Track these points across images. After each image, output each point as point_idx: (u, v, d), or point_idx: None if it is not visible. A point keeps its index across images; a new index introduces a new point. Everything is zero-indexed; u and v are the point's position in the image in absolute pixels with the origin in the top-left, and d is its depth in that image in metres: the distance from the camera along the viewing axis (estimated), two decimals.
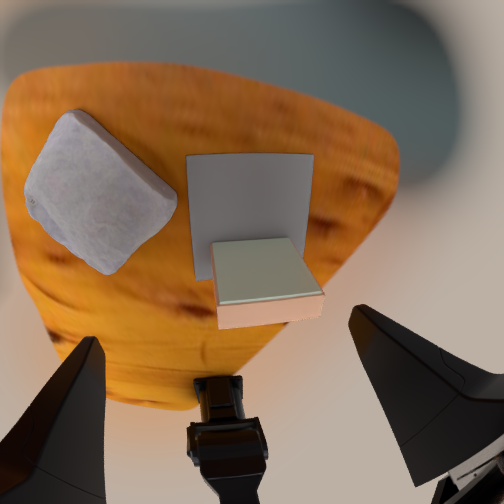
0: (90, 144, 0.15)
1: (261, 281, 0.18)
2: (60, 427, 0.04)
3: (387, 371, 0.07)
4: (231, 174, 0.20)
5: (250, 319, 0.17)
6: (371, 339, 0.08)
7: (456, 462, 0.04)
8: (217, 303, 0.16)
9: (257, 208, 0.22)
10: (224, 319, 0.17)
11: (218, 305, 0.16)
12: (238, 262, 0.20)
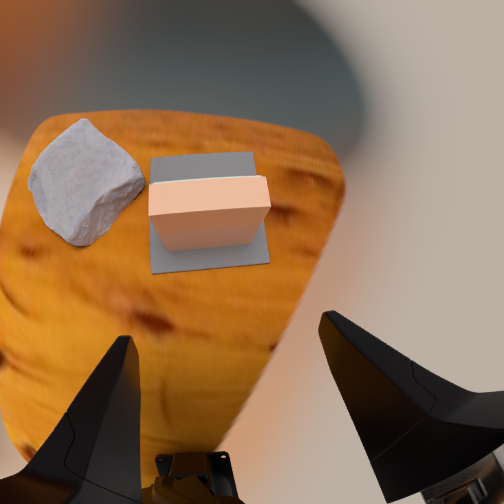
0: (90, 132, 0.21)
1: None
2: (102, 433, 0.05)
3: (355, 383, 0.07)
4: (185, 168, 0.24)
5: (184, 201, 0.15)
6: (338, 348, 0.08)
7: (426, 484, 0.04)
8: None
9: None
10: (155, 200, 0.15)
11: (151, 184, 0.15)
12: None
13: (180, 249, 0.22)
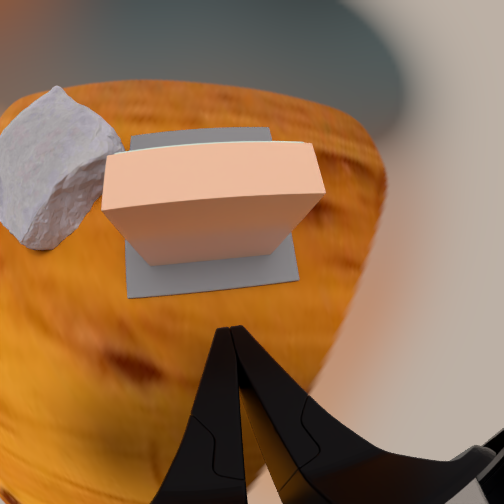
0: (61, 100, 0.14)
1: None
2: None
3: (251, 408, 0.06)
4: None
5: (167, 182, 0.08)
6: (237, 368, 0.07)
7: None
8: None
9: None
10: (115, 182, 0.07)
11: (110, 156, 0.08)
12: None
13: (169, 262, 0.15)
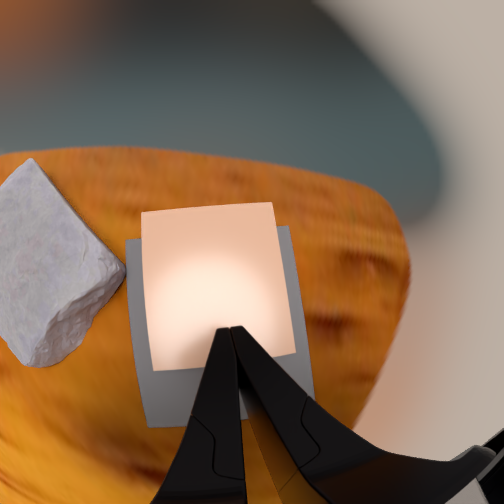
0: (37, 184, 0.12)
1: None
2: None
3: (252, 409, 0.06)
4: None
5: None
6: (237, 368, 0.07)
7: None
8: None
9: None
10: None
11: None
12: None
13: (175, 360, 0.12)
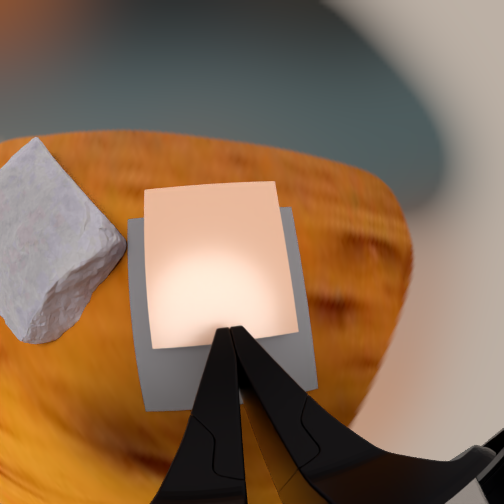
0: (42, 161, 0.12)
1: None
2: None
3: (251, 408, 0.06)
4: None
5: None
6: (237, 368, 0.07)
7: None
8: None
9: None
10: None
11: None
12: None
13: (175, 338, 0.12)
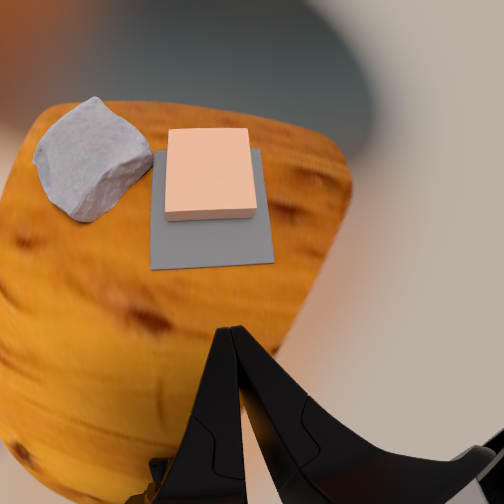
0: (100, 110, 0.20)
1: None
2: None
3: (251, 408, 0.06)
4: None
5: None
6: (237, 368, 0.07)
7: None
8: None
9: None
10: None
11: None
12: None
13: (180, 205, 0.20)
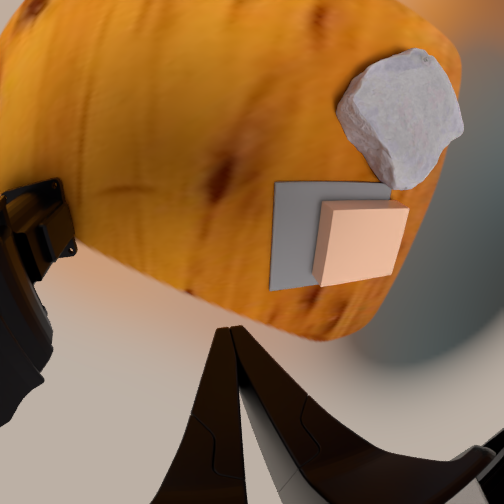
0: (449, 137, 0.18)
1: None
2: None
3: (251, 409, 0.06)
4: None
5: None
6: (237, 368, 0.07)
7: None
8: (393, 200, 0.23)
9: None
10: None
11: None
12: None
13: (336, 224, 0.20)
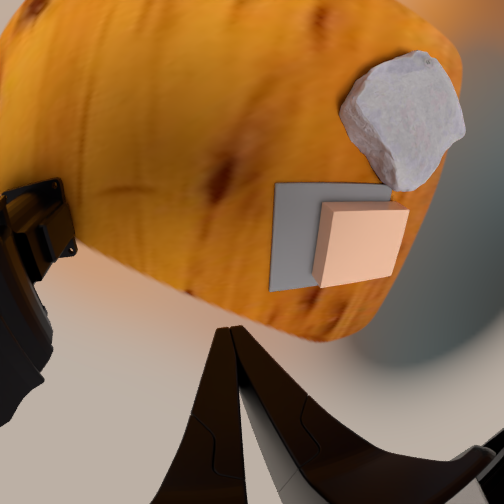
0: (451, 139, 0.18)
1: None
2: None
3: (252, 409, 0.06)
4: None
5: None
6: (238, 368, 0.07)
7: None
8: (393, 202, 0.23)
9: None
10: None
11: (395, 202, 0.23)
12: None
13: (336, 225, 0.20)
